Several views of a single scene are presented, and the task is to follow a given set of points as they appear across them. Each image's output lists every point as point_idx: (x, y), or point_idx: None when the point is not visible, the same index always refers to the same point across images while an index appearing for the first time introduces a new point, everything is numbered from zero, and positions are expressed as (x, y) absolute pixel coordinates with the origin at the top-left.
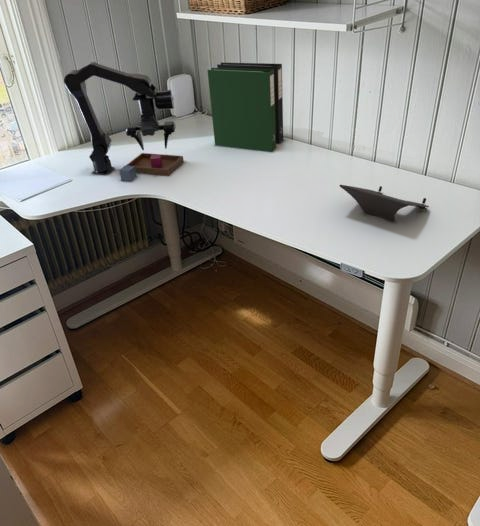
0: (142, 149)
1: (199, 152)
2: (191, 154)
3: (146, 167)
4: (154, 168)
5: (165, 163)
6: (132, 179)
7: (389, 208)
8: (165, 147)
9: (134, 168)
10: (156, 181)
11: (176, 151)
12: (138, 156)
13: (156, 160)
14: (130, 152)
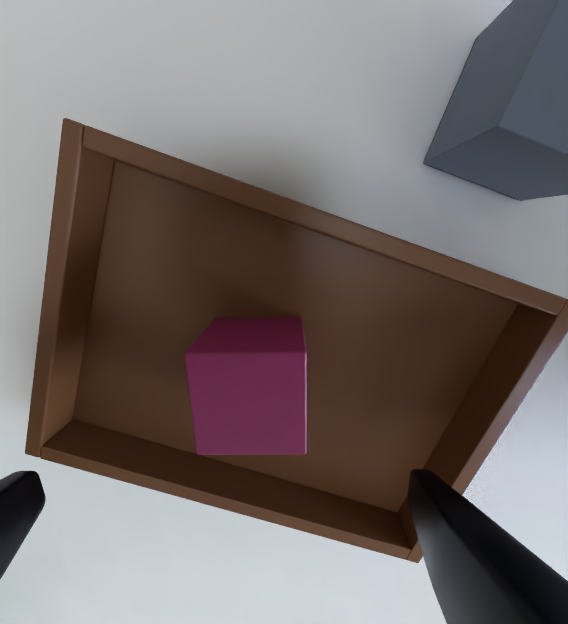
0: (436, 479)
1: None
2: (52, 526)
3: (336, 229)
4: (236, 184)
5: None
6: (470, 62)
7: None
8: (3, 486)
9: (492, 110)
10: (203, 4)
11: (175, 581)
12: None
13: (233, 342)
14: None
